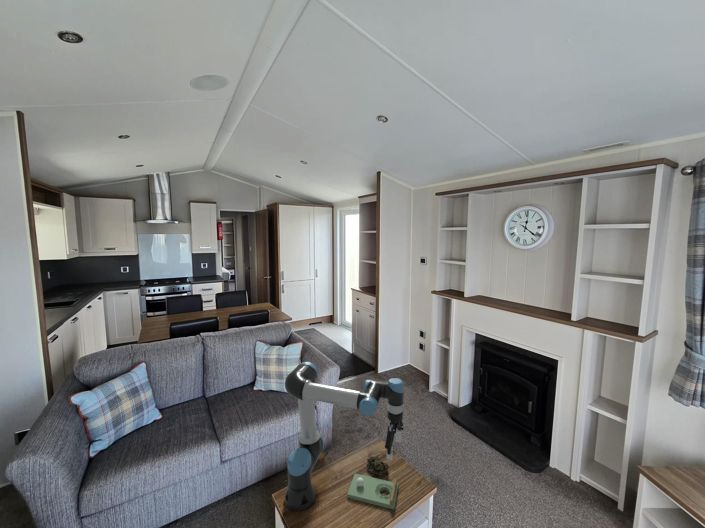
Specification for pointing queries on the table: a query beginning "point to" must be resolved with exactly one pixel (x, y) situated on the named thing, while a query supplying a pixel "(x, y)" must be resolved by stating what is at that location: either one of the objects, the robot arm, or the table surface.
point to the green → (374, 491)
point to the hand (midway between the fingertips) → (394, 450)
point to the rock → (376, 465)
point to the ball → (360, 482)
